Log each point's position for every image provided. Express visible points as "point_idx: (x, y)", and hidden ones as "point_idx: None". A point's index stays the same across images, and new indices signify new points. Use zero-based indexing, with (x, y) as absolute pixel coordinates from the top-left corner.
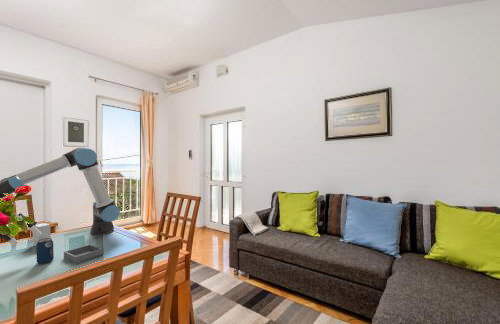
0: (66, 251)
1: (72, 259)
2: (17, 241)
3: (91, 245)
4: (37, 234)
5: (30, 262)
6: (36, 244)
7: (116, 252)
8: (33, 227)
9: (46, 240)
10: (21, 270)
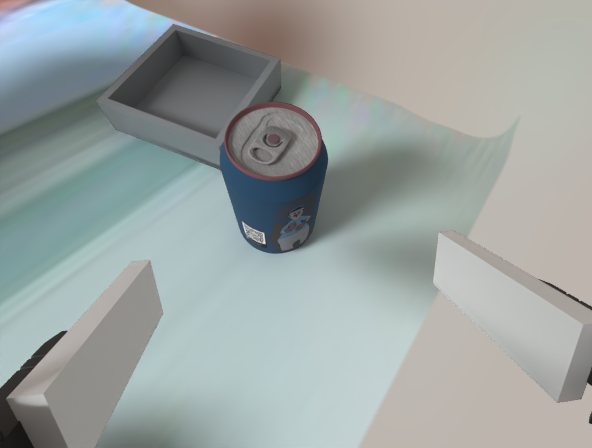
0: (213, 138)
1: (267, 94)
2: (446, 235)
3: (122, 83)
4: (149, 309)
5: (292, 303)
6: (315, 184)
7: (154, 28)
8: (75, 374)
9: (274, 125)
10: (381, 251)
